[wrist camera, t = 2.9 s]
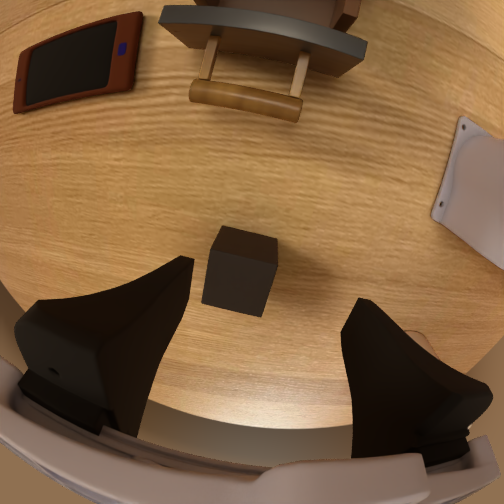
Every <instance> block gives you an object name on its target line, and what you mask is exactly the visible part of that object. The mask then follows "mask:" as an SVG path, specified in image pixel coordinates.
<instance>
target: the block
mask: <svg viewBox="0 0 504 504" xmlns="http://www.w3.org/2000/svg"><path fill="white" fill-rule="evenodd" d="M277 267H278V245H277V239H276V238H272V237H268V236H264V235H260V234H256V233H251V232H247V231H243V230H239V229H235V228H231V227H226V226H222V227H221V229H220V231H219V233H218V235H217V237H216V239H215V241H214V243H213V245H212V247H211V249H210V254H209V259H208V265H207V271H206V277H205V283H204V289H203V295H202V301H201V303H202V304H206V305H210V306H214V307H218V308H222V309H226V310H231V311H235V312H239V313H243V314H248V315H252V316H257V317H262V314H263V311H264V308H265V305H266V302H267V299H268V296H269V293H270V289H271V286H272V283H273V280H274V277H275V274H276V270H277Z"/></svg>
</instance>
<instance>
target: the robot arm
mask: <svg viewBox="0 0 504 504" xmlns="http://www.w3.org/2000/svg"><path fill="white" fill-rule="evenodd" d="M462 125H463V127H464V129H462ZM440 202H442V204H441V206H439V203H440ZM431 218H432V219H433V220H435V221H437V222H439V223H441V224H442V225H444V226H445V227H446V228H448V229H449V230H450V231H452V232H453V233H454V234H456V235H457V236H458V237H460V238H461V239H462V240H463V241H465V242H466V243H467V244H468V245H470V246H471V247H472V248H473V249H475V250H476V251H477V252H478V253H480V254H481V255H482V256H484V257H485V258H486V259H488V260H489V261H491V262H492V263H493V264H495V265H496V266H498V267H499V268H501V269H502V270H504V140H503V139H498V138H494V137H493V136H491V135H490V134H489V133H488V132H486V131H485V130H484V129H482V128H481V127H479V126H478V125H477V124H475V123H474V122H473V121H471V120H470V119H468V118H467V117H465V116H461V117H460V118H459V121H458V125H457V130H456V134H455V138H454V142H453V146H452V150H451V154H450V157H449V161H448V164H447V168H446V171H445V174H444V177H443V181H442V184H441V187H440V190H439V193H438V195H437V198H436V201H435V204H434V207H433V209H432V212H431ZM194 260H195V259H193V258H189V257H185V256H181V255H180V256H179V257H177V258H175V259H173V260H172V261H170V262H168V263H166V264H165V265H163V266H161V267H159V268H158V269H156V270H154V271H152V272H150V273H148V274H146V275H144V276H142V277H140V278H138V279H136V280H134V281H131V282H129V283H126V284H124V285H121V286H118V287H115V288H112V289H109V290H105V291H101V292H98V293H94V294H90V295H84V296H79V297H72V298H64V299H48V300H38V301H37V302H36V303H35V304H34V305H33V306H32V307H31V308H30V309H29V310H28V311H27V312H26V313H25V314H24V315H23V316H22V317H21V318H20V319H19V320H18V321H17V322H16V324H15V327H14V332H15V338H16V341H17V344H18V347H19V349H20V351H21V353H22V356H23V358H24V360H25V362H26V364H27V366H28V370H27V371H26V373H25V374H24V375H23V373H22V372H21V371H20V370H19V369H18V368H17V367H16V366H14V365H13V364H11V363H10V362H8V361H7V360H6V359H4V358H3V357H2V356H0V443H1V444H3V445H4V446H5V447H6V448H8V449H9V450H10V451H12V452H13V453H14V454H16V455H17V456H18V457H20V458H21V459H22V460H24V461H25V462H26V463H28V464H29V465H31V466H32V467H34V468H35V469H36V470H38V471H39V472H41V473H43V474H44V475H46V476H47V477H49V478H51V479H52V480H54V481H55V482H57V483H59V484H60V485H62V486H64V487H66V488H67V489H69V490H71V491H73V492H75V493H77V494H78V495H80V496H82V497H84V498H86V499H88V500H90V501H92V502H94V503H97V504H455V503H457V502H459V501H461V500H463V499H465V498H467V497H469V496H470V495H472V494H474V493H476V492H477V491H479V490H481V489H482V488H483V487H485V486H487V485H488V484H490V483H492V482H493V481H495V480H496V479H498V478H499V477H500V476H501V473H500V470H499V467H498V464H497V461H496V458H495V456H494V453H493V450H492V447H491V444H490V442H489V440H488V437H487V435H484V436H480V437H477V438H474V439H472V440H470V441H468V442H467V440H466V436H468V435H469V433H470V432H469V430H468V427H469V426H470V425H471V424H472V423H473V422H474V421H475V420H476V419H478V417H480V416H481V414H483V412H485V411H486V409H487V408H488V407H489V406H490V404H491V402H492V399H493V394H492V392H491V390H490V389H489V387H488V386H487V385H486V384H485V383H482V382H480V381H478V380H475V379H473V378H471V377H468V376H466V375H464V374H462V373H461V372H459V371H457V370H455V369H453V368H451V367H450V366H448V365H446V364H445V363H443V362H442V361H440V360H439V359H437V358H436V357H434V356H433V355H432V354H430V353H429V352H428V351H426V350H425V349H424V348H423V347H421V346H420V345H419V344H418V343H417V342H415V341H414V340H413V339H412V338H411V337H410V336H409V335H408V334H407V333H405V332H404V331H403V330H402V329H401V328H400V327H399V326H398V325H397V324H396V323H395V322H394V321H393V320H392V319H391V318H390V317H389V316H388V315H387V314H386V313H385V312H384V311H383V310H382V309H381V308H379V307H378V306H377V305H376V304H375V303H374V302H372V301H371V300H368V299H363V298H359V297H358V299H357V301H356V303H355V305H354V307H353V309H352V311H351V313H350V315H349V317H348V319H347V321H346V323H345V325H344V326H343V328H342V330H341V347H342V354H343V359H344V364H345V368H346V373H347V378H348V382H349V387H350V392H351V399H352V414H353V440H352V455H351V459H319V460H301V461H295V462H290V463H286V464H279V465H277V466H275V467H273V468H272V467H262V466H253V465H245V464H238V463H232V462H226V461H220V460H215V459H210V458H205V457H201V456H196V455H192V454H188V453H184V452H180V451H176V450H173V449H169V448H165V447H162V446H159V445H156V444H153V443H149V442H146V441H144V440H141V439H138V438H137V435H138V431H139V427H140V423H141V419H142V416H143V413H144V409H145V406H146V402H147V399H148V396H149V393H150V390H151V387H152V384H153V381H154V378H155V375H156V372H157V369H158V366H159V364H160V361H161V359H162V357H163V355H164V353H165V351H166V349H167V347H168V345H169V343H170V341H171V339H172V337H173V335H174V333H175V331H176V329H177V327H178V325H179V323H180V321H181V319H182V317H183V314H184V311H185V309H186V306H187V303H188V300H189V294H190V287H191V280H192V273H193V267H194Z"/></svg>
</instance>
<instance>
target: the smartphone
mask: <svg viewBox="0 0 504 504" xmlns="http://www.w3.org/2000/svg"><path fill="white" fill-rule="evenodd" d="M142 20H143V13H142V12H140V11H138V12H132V13H127V14H122V15H117V16H113V17H110V18H106V19H102V20H99V21H95V22H92V23H89V24H86V25H83V26H80V27H77V28H74V29H71V30H69V31H66V32H63V33H61V34H58V35H56V36H53V37H51V38H49V39H46V40H44V41H42V42H40V43H37V44H35V45H33V46H31V47H29V48H27V49H26V50H24V51H22V52H21V53H20V56H19V61H18V67H17V74H16V81H15V90H14V102H13V113H14V114H18V113H22V112H25V111H29V110H32V109H36V108H39V107H43V106H47V105H51V104H55V103H59V102H63V101H68V100H73V99H78V98H83V97H88V96H94V95H100V94H107V93H114V92H120V91H127V90H130V89H131V88H132V86H133V81H134V72H135V63H136V56H137V49H138V43H139V37H140V31H141V26H142Z"/></svg>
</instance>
